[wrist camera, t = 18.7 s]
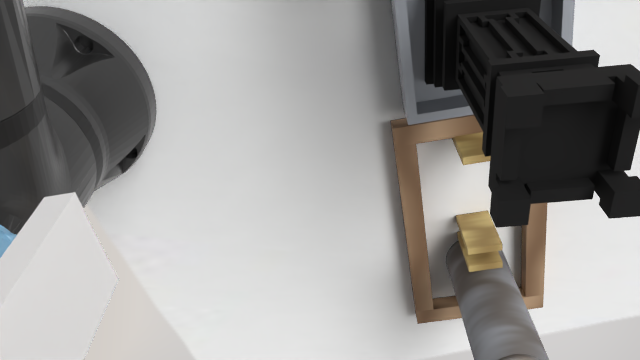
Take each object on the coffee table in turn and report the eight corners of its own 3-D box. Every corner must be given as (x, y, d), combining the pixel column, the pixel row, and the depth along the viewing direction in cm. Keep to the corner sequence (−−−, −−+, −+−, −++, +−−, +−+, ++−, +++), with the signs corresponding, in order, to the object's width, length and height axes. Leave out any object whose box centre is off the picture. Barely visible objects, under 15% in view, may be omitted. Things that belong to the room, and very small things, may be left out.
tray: (403, 108, 48) (408, 125, 45) (385, -46, 41) (390, -37, 39) (555, 83, 47) (568, 98, 44) (562, -80, 40) (579, -73, 37)
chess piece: (425, -22, 41) (499, 89, 24) (535, -33, 41) (688, 72, 24) (424, 80, 46) (487, 234, 29) (524, 71, 45) (648, 221, 28)
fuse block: (415, 313, 61) (441, 442, 48) (390, 120, 48) (416, 227, 36) (541, 296, 60) (601, 424, 47) (548, 94, 47) (633, 195, 34)
